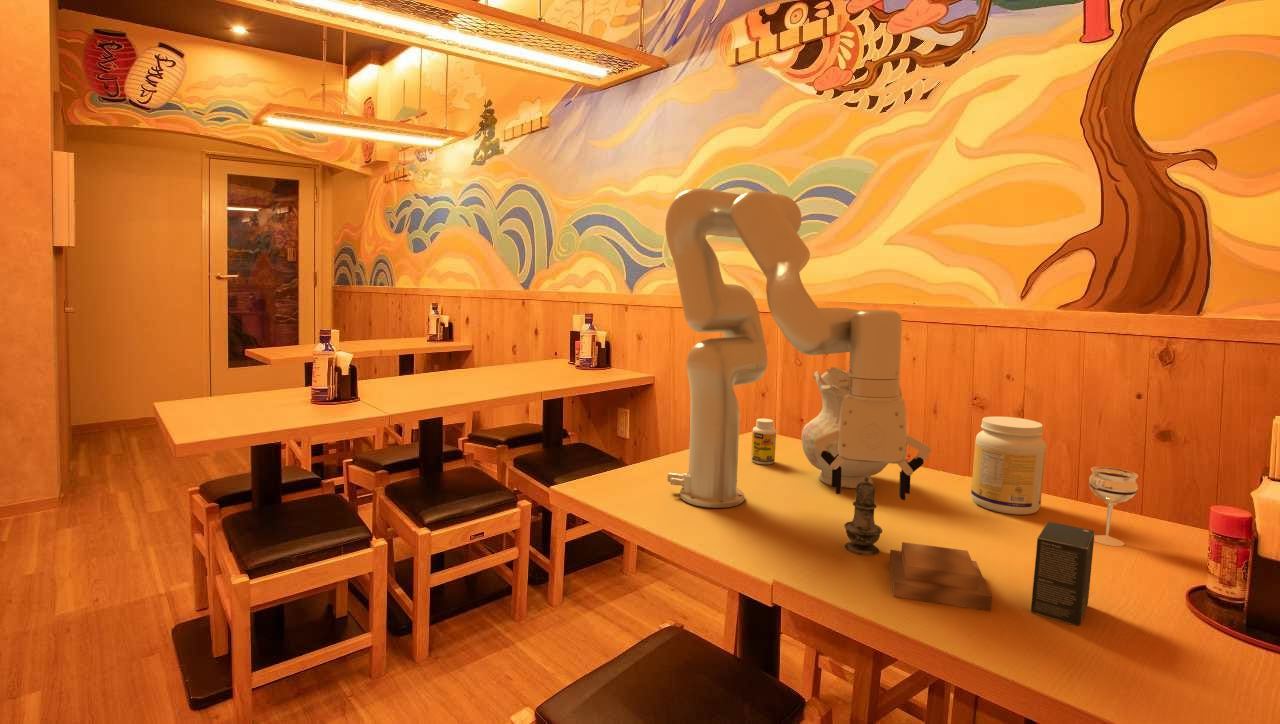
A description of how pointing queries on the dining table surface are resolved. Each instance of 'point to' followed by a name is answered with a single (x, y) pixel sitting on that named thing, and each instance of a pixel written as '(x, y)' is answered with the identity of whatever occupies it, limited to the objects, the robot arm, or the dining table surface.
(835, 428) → the ceramic pitcher
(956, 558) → the plinth
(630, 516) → the dining table surface
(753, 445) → the supplement bottle
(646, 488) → the dining table surface
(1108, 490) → the wineglass
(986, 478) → the supplement tub
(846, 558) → the dining table surface
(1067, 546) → the box
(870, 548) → the salt shaker
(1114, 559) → the dining table surface
